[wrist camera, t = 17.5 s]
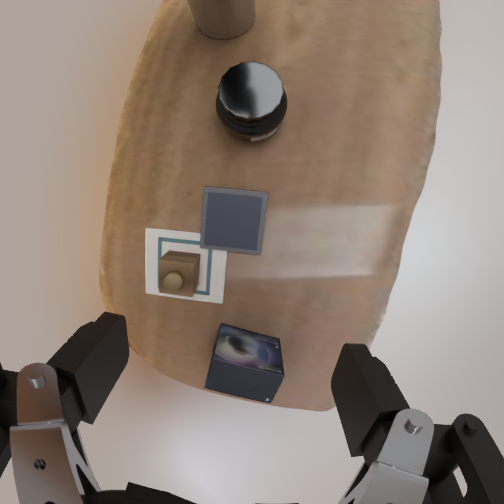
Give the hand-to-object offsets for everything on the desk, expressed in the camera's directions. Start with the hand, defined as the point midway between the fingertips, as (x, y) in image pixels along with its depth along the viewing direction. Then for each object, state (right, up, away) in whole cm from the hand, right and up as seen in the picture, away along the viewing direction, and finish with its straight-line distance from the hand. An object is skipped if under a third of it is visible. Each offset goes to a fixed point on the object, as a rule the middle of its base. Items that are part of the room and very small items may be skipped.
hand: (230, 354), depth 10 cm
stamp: (-10, +1, +34) cm, 35 cm away
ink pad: (-2, +8, +32) cm, 33 cm away
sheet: (-10, +1, +34) cm, 35 cm away
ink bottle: (+1, +24, +28) cm, 37 cm away
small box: (0, -12, +38) cm, 40 cm away
